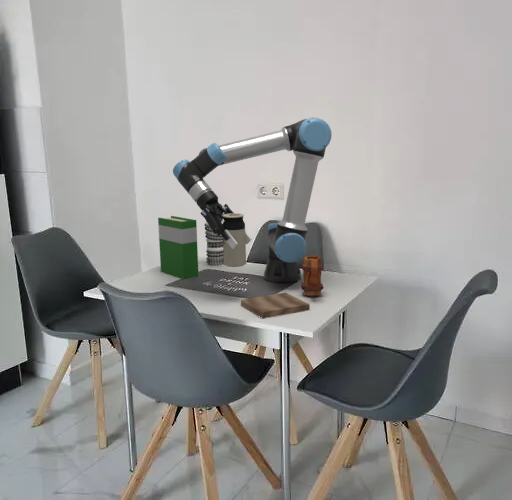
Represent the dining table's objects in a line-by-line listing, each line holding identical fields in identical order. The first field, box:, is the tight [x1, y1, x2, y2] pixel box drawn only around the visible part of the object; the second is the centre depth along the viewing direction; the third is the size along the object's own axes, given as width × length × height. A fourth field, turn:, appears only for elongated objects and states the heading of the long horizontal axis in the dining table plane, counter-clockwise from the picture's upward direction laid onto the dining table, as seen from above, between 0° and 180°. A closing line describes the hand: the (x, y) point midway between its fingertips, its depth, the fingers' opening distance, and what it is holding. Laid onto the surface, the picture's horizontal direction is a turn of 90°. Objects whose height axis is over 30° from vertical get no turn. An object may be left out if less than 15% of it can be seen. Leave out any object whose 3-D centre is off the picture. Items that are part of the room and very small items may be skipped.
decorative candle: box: [204, 213, 225, 268], centre depth 245 cm, size 9×9×25 cm
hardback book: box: [157, 215, 199, 280], centre depth 230 cm, size 18×7×24 cm, turn 42°
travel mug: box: [222, 212, 247, 268], centre depth 191 cm, size 8×8×18 cm
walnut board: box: [240, 292, 311, 319], centre depth 185 cm, size 18×16×2 cm
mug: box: [300, 255, 325, 297], centre depth 195 cm, size 15×8×15 cm, turn 178°
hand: (242, 243), depth 190 cm, fingers closed on travel mug, 8 cm apart
